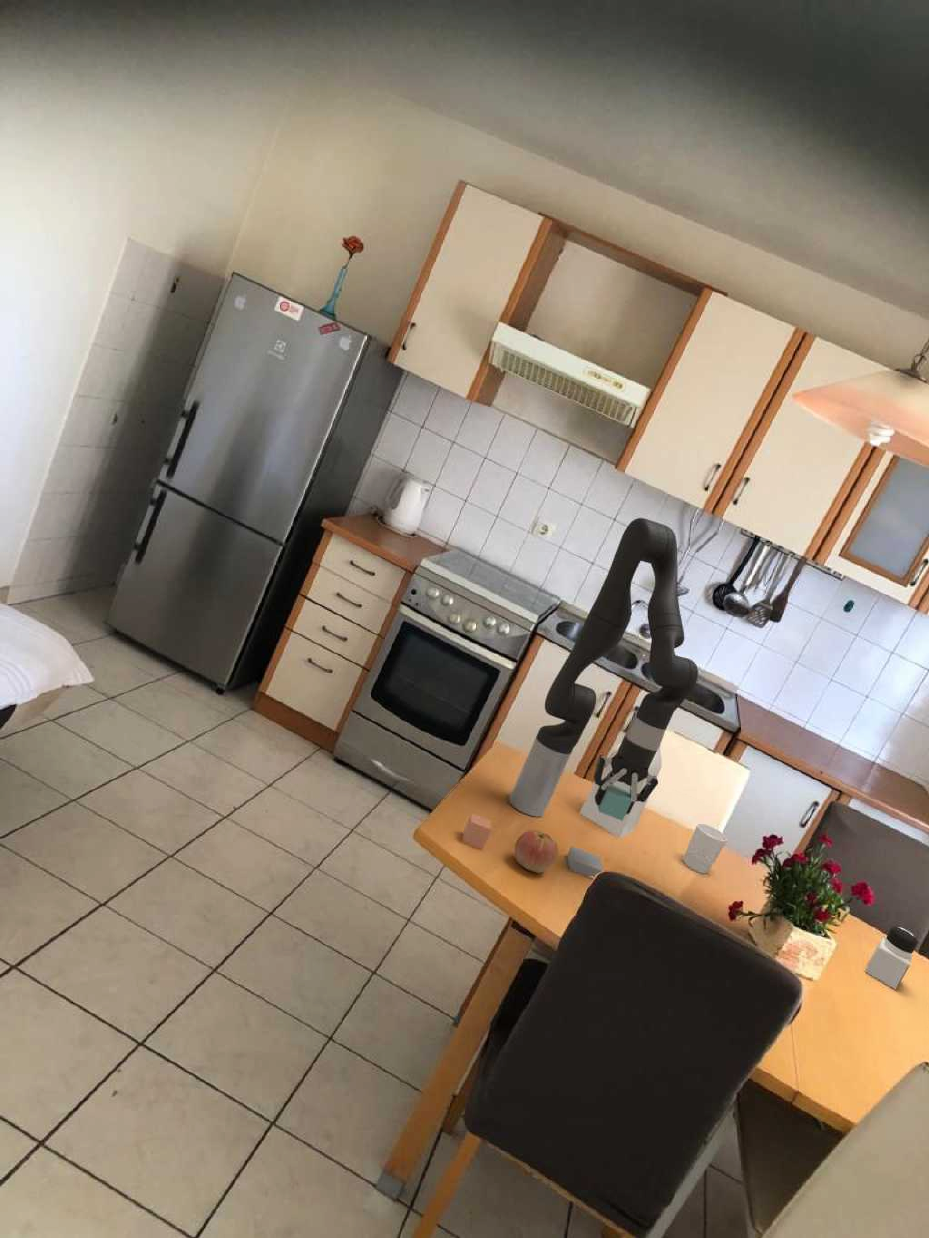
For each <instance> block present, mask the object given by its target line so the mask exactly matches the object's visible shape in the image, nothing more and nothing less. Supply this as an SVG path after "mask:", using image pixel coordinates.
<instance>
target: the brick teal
mask: <svg viewBox="0 0 929 1238" xmlns="http://www.w3.org/2000/svg"><path fill="white" fill-rule="evenodd" d="M631 802H632V799H631V796H630V794H629V791H627V790H625V789H622V788H620V787H617V786H615V785H612V784H611V785H610V786H609V787H608V788H607V789H606V793H605V795H604V797H603V799H602V801H601V803H600V805H597V806H598V810H599V812H601V813H604V814H606V815H609V816H611V817H614V818H616V819H619V820H621V821H623V819H624V817H625V814H626V812H627V810H628V808H629V806H630V804H631Z"/></svg>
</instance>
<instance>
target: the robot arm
mask: <svg viewBox="0 0 929 1238" xmlns="http://www.w3.org/2000/svg"><path fill="white" fill-rule="evenodd" d="M641 562H644V563H647V564H650V565H651V569H652V571H653V574H654V575H653V576H654V586H653V588H654V589H653V590H652V593H651V596H650V599H649V601H648V605H647V623H648V628H649V634H650V639H651V641H650V642H651V643H650V649H649V660H648V671H649V675H650V678H651V680H652V681H653V682H654V683H655V684H656V685H657V686H660V687H661V688H660V689H659V690H657V691H654V692H648V693H646V694H645V696H643V698H642V701H641V702H640V705H639V706H638V709H637V711H636V714H635V715H634V717H633V719H632V720H631V721H630V723H629V725H628V728H627V729H626V732H625V735H624V736H623V738H622V741H621V742H620V743H621V745H620V747H619V749H618V751H617V753H616V755H615V756H614V757H612V759H611V758H609V757H605V756H604V755H603V754H599V756H598V759H597V762H596V766H595V767H596V768H595V771H594V775H593V780H594V784H597V785H599V788H598V791H597V793H596V795H595V801H596V805H600V803H601V801H602V799H603V797H604V795H605V793H606V789H607V788H608V787H609V786H610V785H611V784H614V783H615V782H616V781H619V782H624V783H625V784H627V785H629V786H630V796H631V799H632V802H631V804H630V806H629V808H628V810H627V812H626V814H629V813H630V811H631V809H632V807H633V805H634V803H635V802H636V801H641V802H645V801H646V799H647V798H648V796H649V795H650V796H651V794H652V793H653V791H654V789H656V787H657V786H658V784H659V780H658V777H657V778H656V776H652V775H650V774H649V773H648V769H649V767H650V765H651V763H652V761H653V758H654V756H655V754H656V752H657V750H658V748H659V747H660V748H661V744H662V741H663V739H664V737H665V732H666V730H667V728H668V725H669V724H670V721H671V719H672V717H673V714H674V712H676V711H677V709H678V708H679V707H680V706H681V705H682V704H683V702H684V701H685V700H686V699H687V698H688V696H689V695H690V694H691V693H692V692H693V689H694V688H695V686H696V684H697V681H698V678H699V670H698V666H697V664H696V663H695V661H694V660H692V659H690V658H687V657H683V656H679V655H676V654H675V653H676V652H675V649H677V648H679V647H681V646H682V645H683V643H684V642H685V631H684V625H683V621H682V615H681V610H680V604H679V592H678V591H679V590H678V589H679V588H678V586H679V585H678V582H679V581H678V580H679V579H678V576H679V575H678V543H677V537H676V533H675V532H674V530H673V529H672V528H671V527H669V526H667V525H665V524H662V523H660V522H656V521H654V520H651V519H648V518H643V517H638V518H634V519H633V520H632V521H631V522H630V523H628V525H627V526H626V528H625V529H624V532H623V533H622V536H621V539H620V540H619V543H618V546H617V549H616V551H615V554H614V556H613V559H612V562H611V564H610V568H609V571H608V572H607V575H606V577H605V579H604V581H603V584H602V586H601V588H600V591H599V592H598V594H597V597H596V599H595V600H594V603H593V605H592V606H591V608H590V609H589V612H588V614H587V617H586V618H585V621H584V623H583V626H582V628H581V630H580V632H579V634H578V637H577V639H576V640H575V642H574V645H573V647H572V648H571V650H570V653H569V654H568V656H567V658H566V660H565V661H564V664H563V665H562V667H561V668H560V670H559V671H558V673H557V675H556V677H555V679H553V681H552V684H551V686H550V687H549V690H548V692H547V694H546V697H545V701H544V711H545V712H546V714H547V715H549V716H552V717H554V718H556V719H558V720H559V719H560V720H563V722H561V723H558V724H551V725H549V724H548V725H542V726H541V727H540V728H539V729H538V732H537V734H536V737H535V739H534V740H533V743H532V745H531V748H530V750H529V752H528V755H527V757H526V759H525V761H524V763H523V765H522V768H521V770H520V772H519V774H518V777H517V779H516V782H515V784H514V786H513V788H512V790H511V793H510V795H509V797H508V801H509V803H510V805H511V806H512V807H514V808H515V809H517V810H518V811H520V812H521V813H523V814H526V815H529V816H532V817H537V818H539V817H543V816H544V814H545V812H546V809H547V808H548V807H549V806H548V805H549V804H550V801H551V799H552V798H553V794H554V792H555V790H556V788H557V785H558V784H559V782H560V779H561V777H562V775H563V772H564V771H565V768H566V766H567V764H568V761H569V760H570V757H571V755H572V752H573V751H574V748H575V747H576V745H578V743H579V742H580V739H581V736H582V735H583V733H584V731H585V729H586V728H587V725H588V724H589V722H590V719H591V717H592V715H593V713H594V710H595V709H596V704H597V694H596V692H595V690H594V689H593V688H591V687H588V686H585V685H582V684H579V683H577V682H576V681H577V679H578V678H579V677H580V676H581V674H582V673H583V672H584V671H585V670H586V669H587V668H588V667H589V666H591V664H593V663H594V662H596V661H598V660H600V659H601V658H602V657H604V656H606V655H607V654H609V653H610V652H611V651H613V650H614V649H615V648H616V647H617V646H618V645H619V644H620V642H621V640H622V638H623V636H624V634H625V632H626V631H627V629H628V626H629V624H630V622H631V620H632V619H631V618H632V593H631V592H632V591H631V590H632V589H631V587H632V582H633V579H634V576H635V573H636V571H637V568H638V567H639V565H640V563H641ZM608 764H611V766H612V771H611V772H610V773H609V774H608V775H607V776H606V777H605V778H604V779H603V780H602V779H601V778H602V773H603V769H604V768H606V767H607V766H608ZM645 778H647V779H646V785H645V786H644V788H643V789H642V790H641V792H640V793H639V794H637V783H638V782H640V781H641V780H643V779H645ZM650 796H649V797H650ZM648 799H649V798H648ZM626 814H625V815H626Z"/></svg>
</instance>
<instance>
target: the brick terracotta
mask: <svg viewBox="0 0 929 1238" xmlns="http://www.w3.org/2000/svg"><path fill="white" fill-rule="evenodd" d="M491 831H492V820H489V819H487V818H485V817H482V816H481V815H478V814H475V813H473V812H472V813H471V814H470V816H469V819H468V820H467V823H466V825H465V828H464V831H463V833H462V839H461V840H462V841H461V842H462V843H463V844H466V845H469V846H471V847H474V848H476V849H478V850H482V851H483V849H484V847H485V844H486V842H487V840H488V838H489V835H490V833H491Z"/></svg>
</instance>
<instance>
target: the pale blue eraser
mask: <svg viewBox="0 0 929 1238" xmlns="http://www.w3.org/2000/svg"><path fill="white" fill-rule="evenodd" d="M566 858H567V859H566V860H567V864H568V865H567V866H568V870H569V871H571V872H573V871H575V872H574V873H576V872H577V873H576V874H579V873H580V874H579V875H581V874H583V875H582V876H584V875H586V876H590V877H591V876H593V877H595V875H596V874H597V873H599V872H601V871H603V872H604V869H603V864H602V861H601V856H598V855H595V854H593V853H590V852H588V851H585V850H583V849H580V848H578V847H575V846H572V845H571V846H570V847H569V850H568V853H567V855H566ZM586 876H585V877H586Z"/></svg>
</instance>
